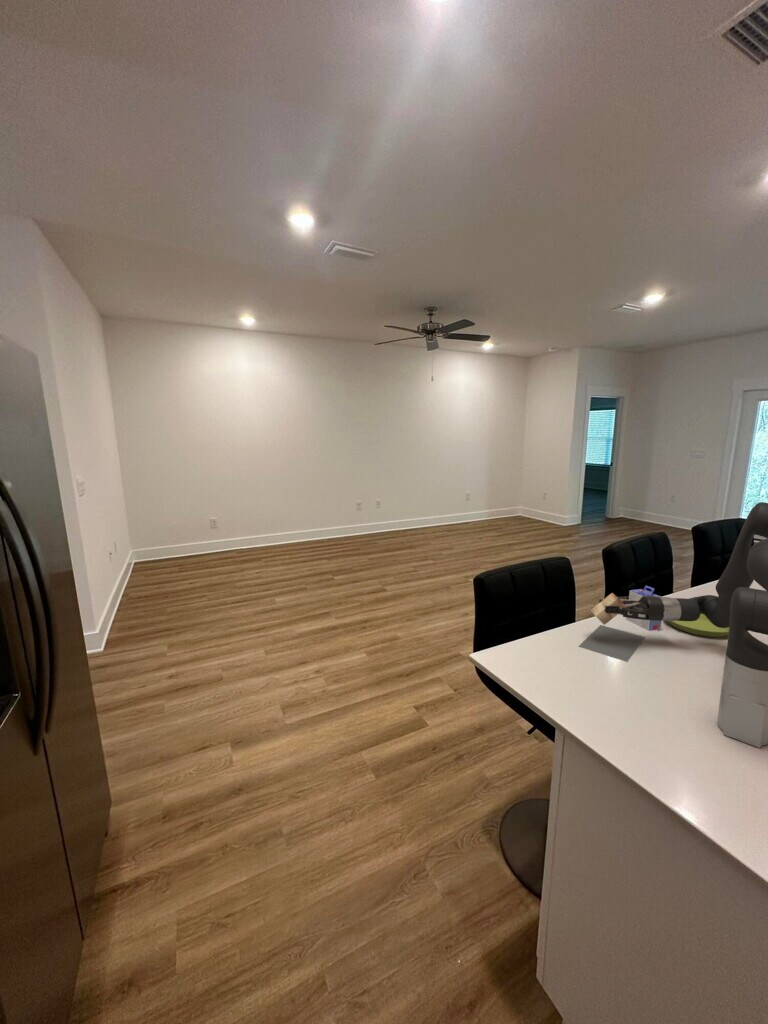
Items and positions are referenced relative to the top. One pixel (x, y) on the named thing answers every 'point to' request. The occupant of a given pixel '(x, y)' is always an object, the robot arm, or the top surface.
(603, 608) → the beech block
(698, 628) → the saucer
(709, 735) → the top surface
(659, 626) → the ink cartridge box
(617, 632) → the rubber mat
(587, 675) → the top surface
